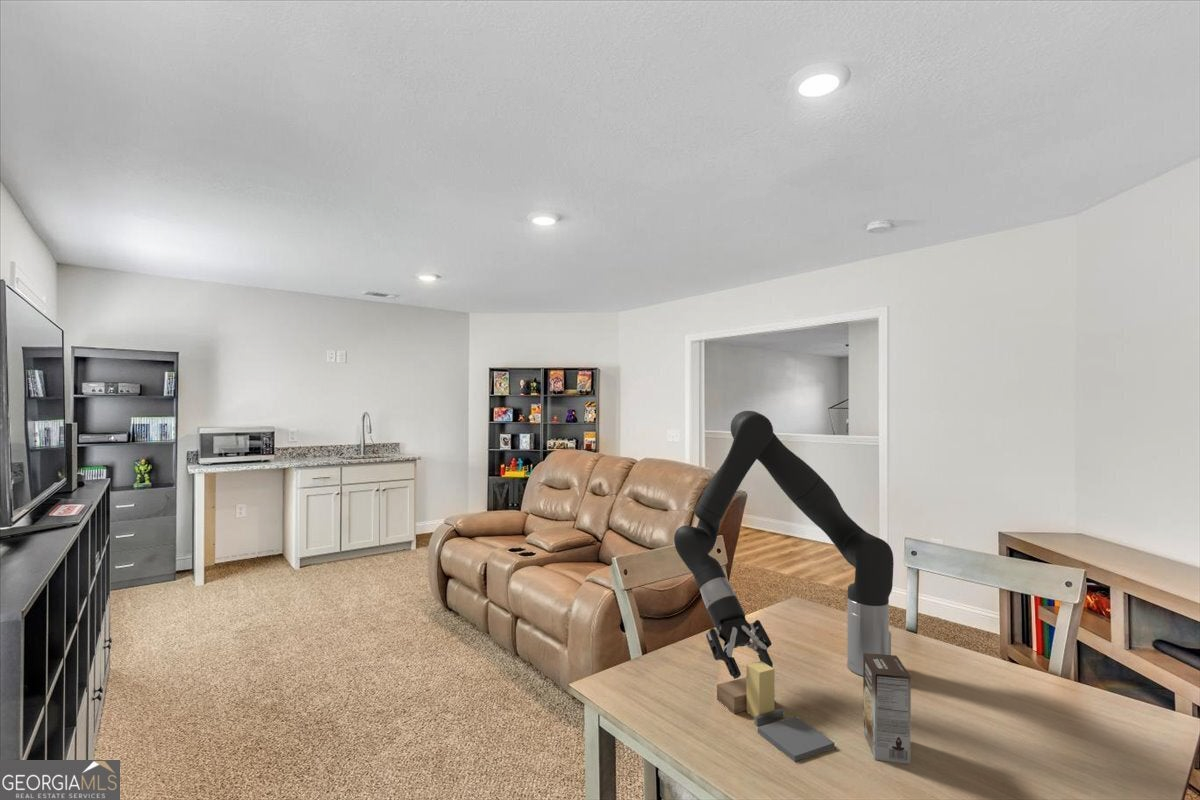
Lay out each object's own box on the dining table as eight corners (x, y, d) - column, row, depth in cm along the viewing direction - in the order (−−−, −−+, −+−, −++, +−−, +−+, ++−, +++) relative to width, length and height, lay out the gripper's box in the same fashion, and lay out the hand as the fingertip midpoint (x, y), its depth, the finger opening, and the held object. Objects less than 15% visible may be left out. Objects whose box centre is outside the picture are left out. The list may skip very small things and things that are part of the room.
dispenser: (752, 691, 128) (752, 675, 128) (789, 716, 118) (789, 699, 118) (716, 700, 124) (716, 684, 124) (751, 727, 113) (751, 710, 113)
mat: (795, 720, 116) (795, 716, 116) (834, 747, 107) (834, 742, 107) (757, 732, 112) (757, 727, 112) (794, 761, 103) (794, 756, 103)
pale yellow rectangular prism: (761, 707, 121) (761, 661, 121) (774, 717, 117) (774, 668, 117) (746, 711, 119) (746, 664, 119) (759, 721, 116) (759, 672, 116)
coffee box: (861, 732, 112) (861, 651, 112) (896, 736, 111) (896, 654, 111) (874, 760, 103) (874, 672, 103) (912, 765, 102) (912, 676, 102)
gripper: (702, 598, 125) (735, 672, 115) (753, 590, 131) (788, 660, 121) (689, 614, 130) (719, 686, 120) (738, 605, 136) (771, 674, 125)
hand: (754, 673), depth 120 cm, fingers open, 8 cm apart
